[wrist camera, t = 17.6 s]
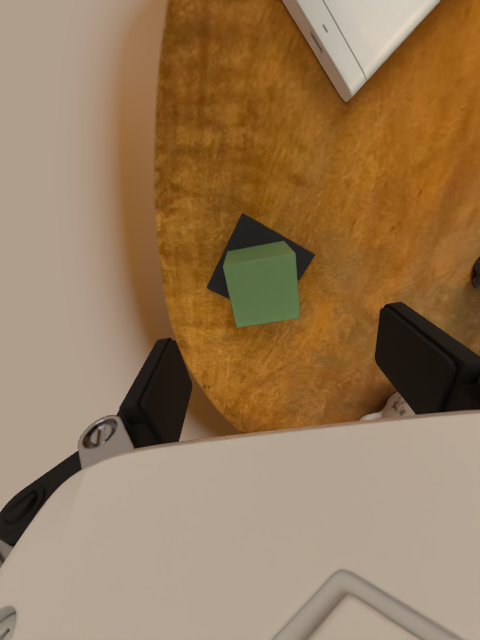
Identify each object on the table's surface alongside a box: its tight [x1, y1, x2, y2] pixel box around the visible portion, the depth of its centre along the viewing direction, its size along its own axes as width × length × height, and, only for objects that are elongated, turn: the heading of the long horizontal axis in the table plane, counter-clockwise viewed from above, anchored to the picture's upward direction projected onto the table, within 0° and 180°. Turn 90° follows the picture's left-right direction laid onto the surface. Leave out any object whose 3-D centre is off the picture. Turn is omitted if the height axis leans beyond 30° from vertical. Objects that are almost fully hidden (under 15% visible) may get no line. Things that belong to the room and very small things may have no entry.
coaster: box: [207, 213, 315, 299], centre depth 24 cm, size 8×8×1 cm
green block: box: [223, 241, 300, 328], centre depth 21 cm, size 6×6×6 cm
